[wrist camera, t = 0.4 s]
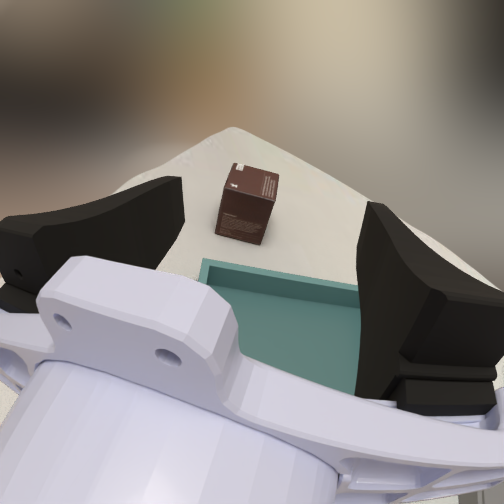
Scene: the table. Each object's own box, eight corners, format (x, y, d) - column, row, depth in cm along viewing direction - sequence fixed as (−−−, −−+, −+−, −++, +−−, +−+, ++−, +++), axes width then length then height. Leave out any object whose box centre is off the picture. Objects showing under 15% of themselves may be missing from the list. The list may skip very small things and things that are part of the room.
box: (260, 247, 40) (275, 201, 35) (213, 234, 40) (222, 187, 35) (265, 216, 45) (280, 173, 39) (223, 205, 44) (233, 161, 39)
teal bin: (384, 468, 24) (405, 462, 21) (170, 466, 21) (170, 463, 19) (364, 305, 37) (377, 288, 35) (199, 278, 35) (202, 258, 32)
